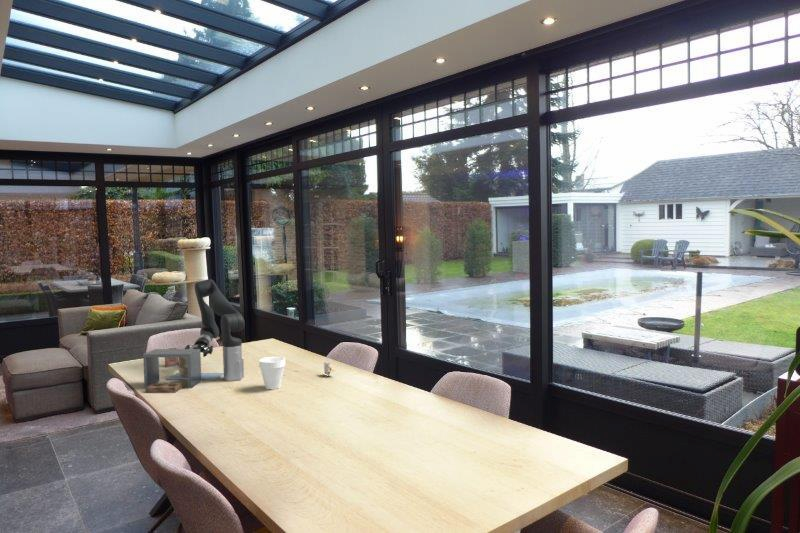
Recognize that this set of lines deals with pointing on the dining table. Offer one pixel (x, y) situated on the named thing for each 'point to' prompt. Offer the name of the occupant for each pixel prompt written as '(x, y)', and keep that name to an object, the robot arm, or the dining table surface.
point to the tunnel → (153, 356)
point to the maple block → (183, 367)
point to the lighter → (171, 360)
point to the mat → (203, 376)
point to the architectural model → (327, 368)
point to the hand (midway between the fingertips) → (195, 355)
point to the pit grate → (163, 387)
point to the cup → (272, 371)
